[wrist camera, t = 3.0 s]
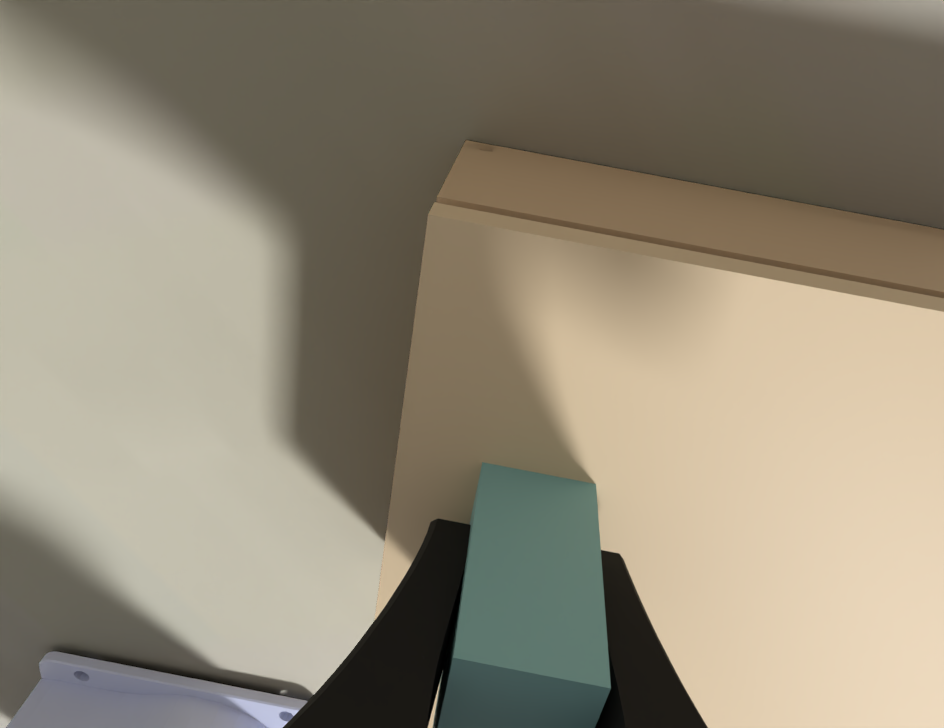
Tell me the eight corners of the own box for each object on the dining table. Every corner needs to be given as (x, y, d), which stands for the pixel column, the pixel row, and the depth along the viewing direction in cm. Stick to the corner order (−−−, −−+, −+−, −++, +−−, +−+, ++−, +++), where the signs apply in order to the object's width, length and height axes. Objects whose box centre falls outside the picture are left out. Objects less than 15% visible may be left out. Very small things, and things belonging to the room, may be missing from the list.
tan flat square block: (367, 693, 17) (309, 921, 13) (434, 202, 11) (363, 344, 7) (871, 792, 17) (969, 1053, 13) (1222, 350, 11) (1618, 583, 7)
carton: (402, 560, 21) (370, 682, 17) (466, 139, 15) (437, 196, 11) (813, 640, 20) (866, 779, 17) (1050, 249, 14) (1206, 341, 11)
